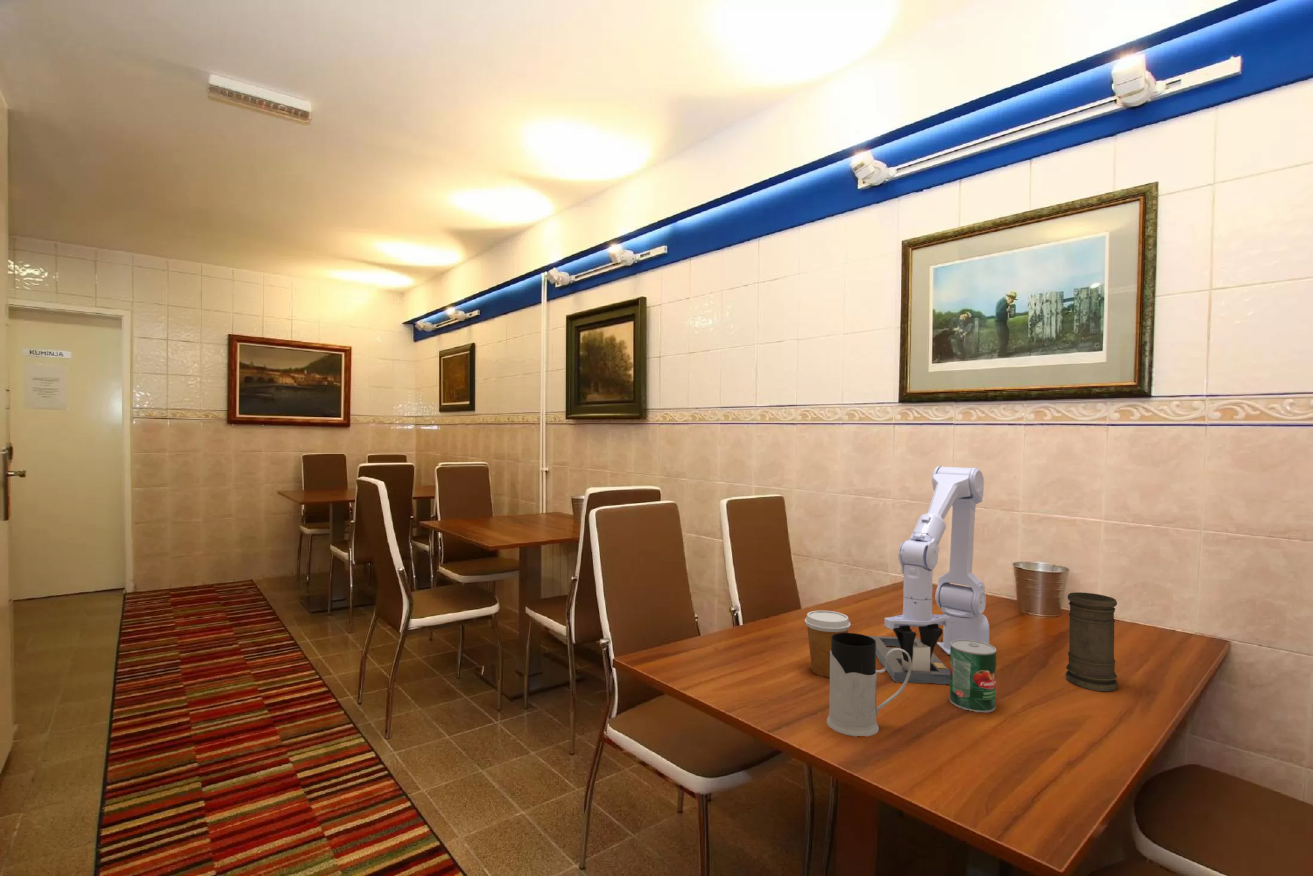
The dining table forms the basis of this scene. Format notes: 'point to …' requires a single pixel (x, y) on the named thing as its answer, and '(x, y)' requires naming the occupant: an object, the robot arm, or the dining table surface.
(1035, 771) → the dining table surface
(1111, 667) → the container
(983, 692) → the canned tomato
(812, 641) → the disposable coffee cup
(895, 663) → the panel
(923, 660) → the plug
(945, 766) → the dining table surface
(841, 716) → the grey beer mug
